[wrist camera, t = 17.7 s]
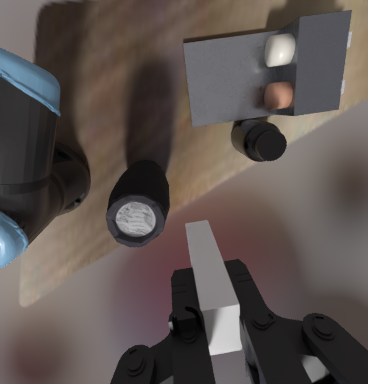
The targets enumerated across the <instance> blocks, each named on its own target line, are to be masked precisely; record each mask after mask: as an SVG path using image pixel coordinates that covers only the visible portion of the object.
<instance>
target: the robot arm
mask: <svg viewBox="0 0 368 384" xmlns="http://www.w3.org/2000/svg"><path fill="white" fill-rule="evenodd" d="M59 104H60V85H59V83H58V81H57V79H56V78H55V77H54V76H53V75H52V74H51V73H49V72H48V71H46V70H44V69H43V68H41V67H39V66H37V65H35V64H33V63H31V62H29V61H27V60H25V59H23V58H21V57H19V56H17V55H14V54H12V53H10V52H8V51H6V50H4V49H2V48H0V268H1V267H4V266H6V265H7V264H9V263H10V262H11V261H13V260H14V259H15V258H16V257H17V256H19V255H20V254H22V253H23V252H24V251H25V250H26V248H27V246H28V245H29V244H30V243H31V242H32V241H33V240H34V239H35V238H36V237H37V236H38V235H39V234H40V233H41V232H42V231H43V230H44V229H45V228H46V227H47V225H48V224H49V223H50V222H51V221H52V220H53V219H54V218H55V217H56V216H59V215H62V214H65V213H68V212H70V211H72V210H74V209H75V208H77V207H78V206H79V205H80V204H81V203H82V202H83V201H84V199H85V198H86V196H87V195H88V192H89V189H90V175H89V172H88V169H87V167H86V165H85V163H84V162H83V160H82V159H81V158H80V157H79V156H78V155H77V154H76V153H75V152H74V151H72V150H71V149H70V148H68V147H66V146H64V145H62V144H59V143H56V142H55V138H56V130H57V122H58V116H59V117H60V115H61V114H60V111H59ZM185 226H186V232H187V239H188V246H189V252H190V258H191V264H192V268H186V269H180V270H175V271H174V273H173V275H172V277H171V287H172V309H173V311H172V313H171V314H170V316H169V321H168V322H169V327H170V333H169V335H168V336H167V337H166V338H165V339H164V340H162V341H161V342H160V343H158V344H156V345H155V346H152V347H151V348H149V347H147V346H145V345H135V346H133V347H131V348H129V349H128V350H127V351H126V352H125V353H124V354H123V355H122V357H121V359H120V360H119V362H118V365H117V367H116V370H115V372H114V375H113V378H112V380H111V383H110V384H215V378H214V373H213V368H212V362H211V357H210V355H215V354H221V353H227V352H232V351H237V350H241V349H242V347H243V350H244V353H245V366H246V375H247V376H250V379H251V383H252V384H368V350H367V349H365V348H364V347H363V346H362V345H361V344H360V343H359V342H358V341H357V340H356V339H354V338H353V337H352V336H351V335H350V334H349V333H348V332H347V331H346V330H345V329H344V328H342V327H341V326H340V325H339V324H338V323H337V322H336V321H334V320H333V319H331V318H330V317H328V316H325V315H323V314H318V313H312V314H308V315H307V316H305V317H304V319H303V321H299V320H292V319H286V318H282V317H280V316H277V315H276V314H274V313H273V312H272V311H271V310H270V309H269V308H268V307H267V306H266V304H265V302H264V300H263V298H262V296H261V294H260V292H259V290H258V288H257V286H256V285H255V283H254V281H253V279H252V277H251V275H250V273H249V271H248V269H247V267H246V265H245V264H244V263H243V262H241V261H240V260H239V259H236V260H230V261H225V262H223V260H222V257H221V254H220V252H219V249H218V247H217V244H216V242H215V239H214V236H213V233H212V231H211V228H210V225H209V223H208V220H204V221H198V222H193V223H186V224H185ZM241 344H242V347H241Z"/></svg>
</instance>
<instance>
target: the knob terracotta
mask: <svg viewBox="0 0 368 384" xmlns="http://www.w3.org/2000/svg"><path fill="white" fill-rule="evenodd" d="M344 85H345V80H342V88H341V94H342V93H343V92H344ZM292 95H293V90H292V86H291V84H290V82H288V81H285V82H278V83H271V84H268V85H267V87H266V89H265V94H264V102H265V106H266V108H267V109H268V110H274V109H281V108H287V107H288V106H289V105H290V103H291V100H292Z"/></svg>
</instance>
